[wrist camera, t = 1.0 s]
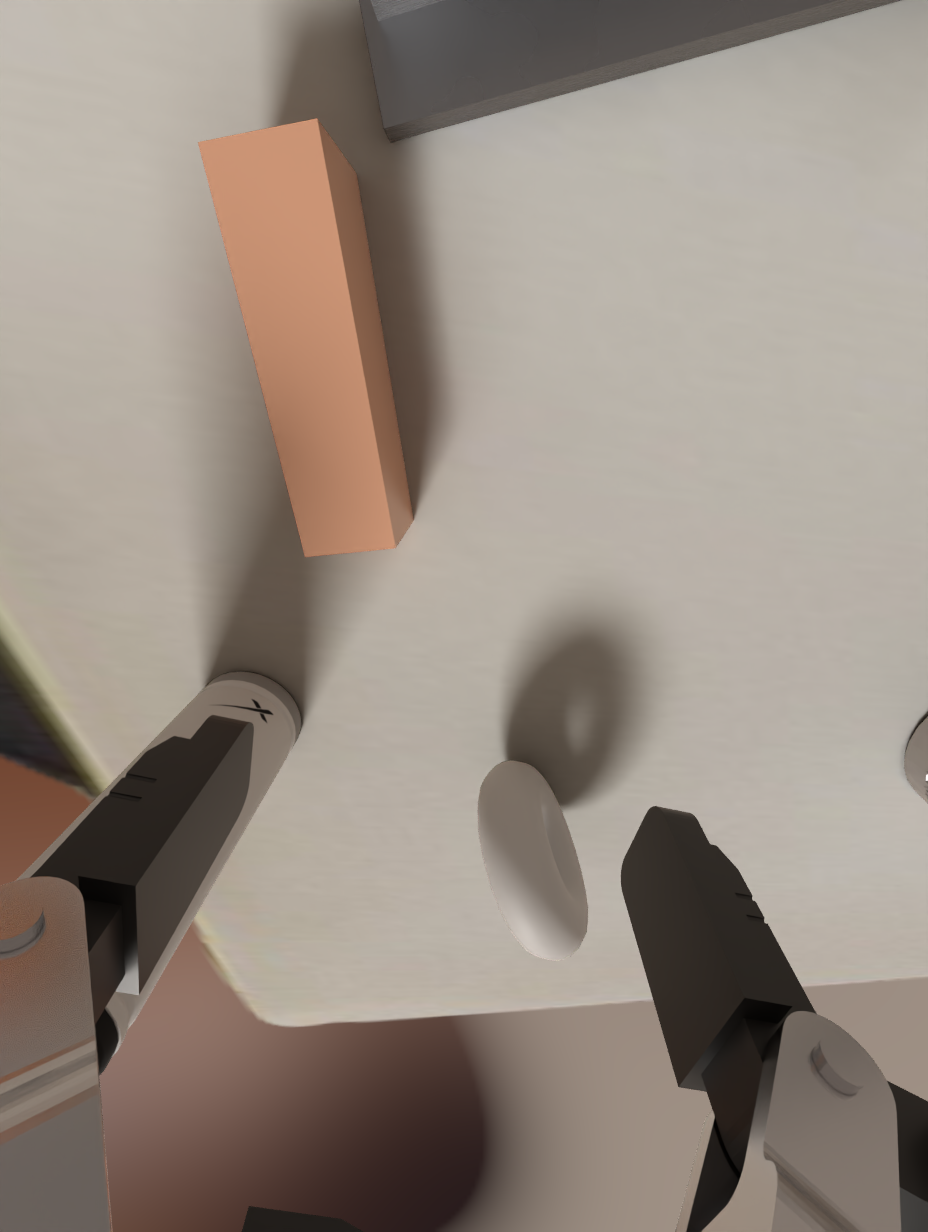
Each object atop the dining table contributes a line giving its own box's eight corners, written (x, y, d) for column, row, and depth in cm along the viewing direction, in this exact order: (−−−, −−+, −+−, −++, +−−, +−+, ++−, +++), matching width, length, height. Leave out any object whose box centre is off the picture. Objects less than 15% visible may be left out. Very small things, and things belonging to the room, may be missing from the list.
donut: (583, 834, 34) (611, 999, 25) (533, 848, 35) (544, 1012, 26) (524, 717, 31) (532, 859, 22) (471, 735, 31) (458, 879, 22)
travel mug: (278, 656, 30) (-68, 1077, 12) (317, 746, 33) (81, 1207, 14) (182, 674, 31) (-272, 1088, 13) (227, 760, 34) (-99, 1207, 15)
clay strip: (358, 175, 21) (317, 118, 16) (414, 519, 26) (395, 548, 22) (263, 193, 21) (198, 142, 17) (338, 527, 27) (305, 557, 22)
